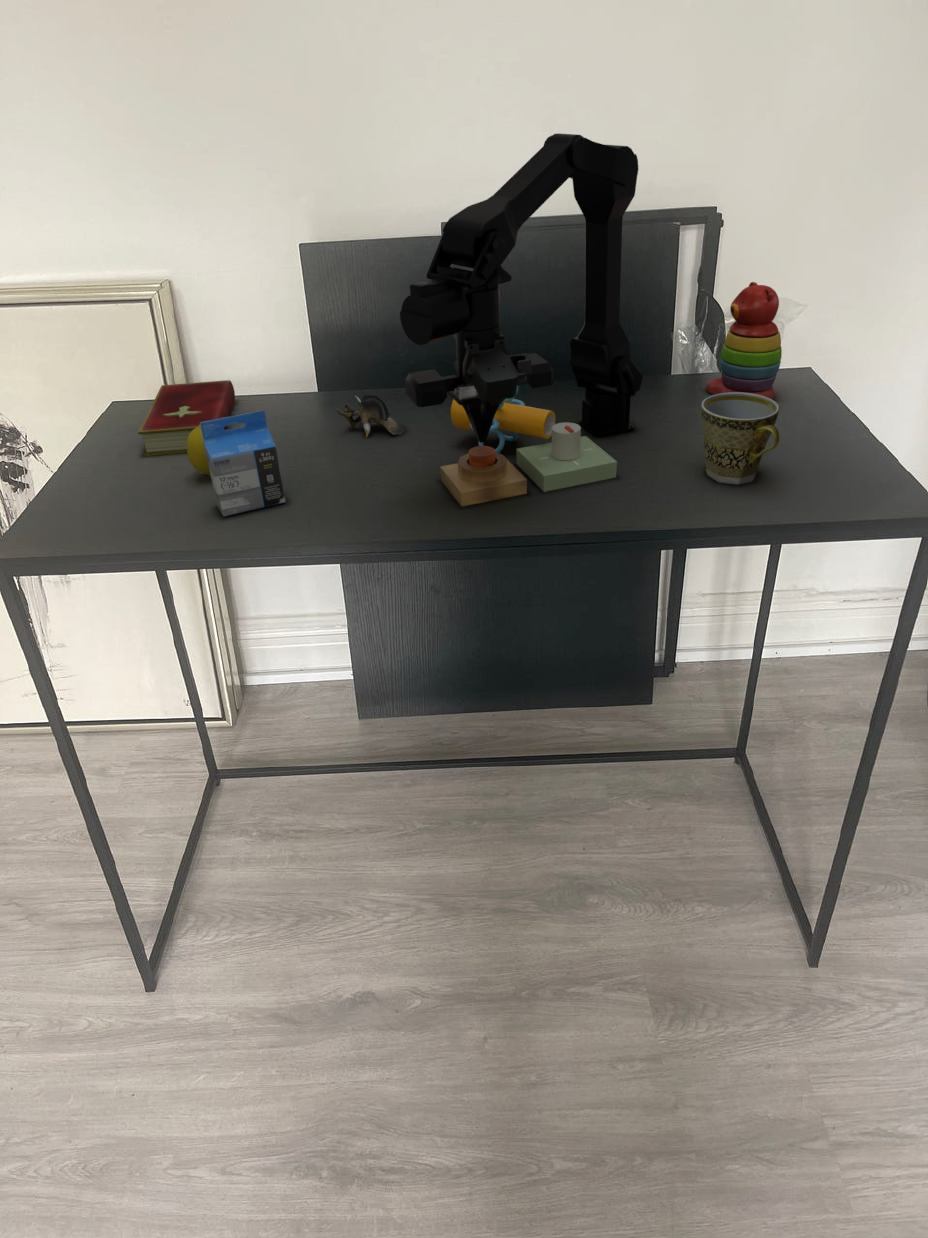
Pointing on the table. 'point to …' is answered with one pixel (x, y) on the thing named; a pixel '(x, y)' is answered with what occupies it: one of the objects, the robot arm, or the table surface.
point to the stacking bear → (751, 345)
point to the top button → (482, 456)
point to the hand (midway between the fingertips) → (481, 441)
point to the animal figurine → (371, 414)
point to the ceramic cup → (737, 434)
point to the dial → (566, 441)
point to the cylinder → (510, 421)
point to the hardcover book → (184, 414)
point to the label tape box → (242, 463)
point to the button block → (482, 481)
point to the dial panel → (566, 465)
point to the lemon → (197, 451)
